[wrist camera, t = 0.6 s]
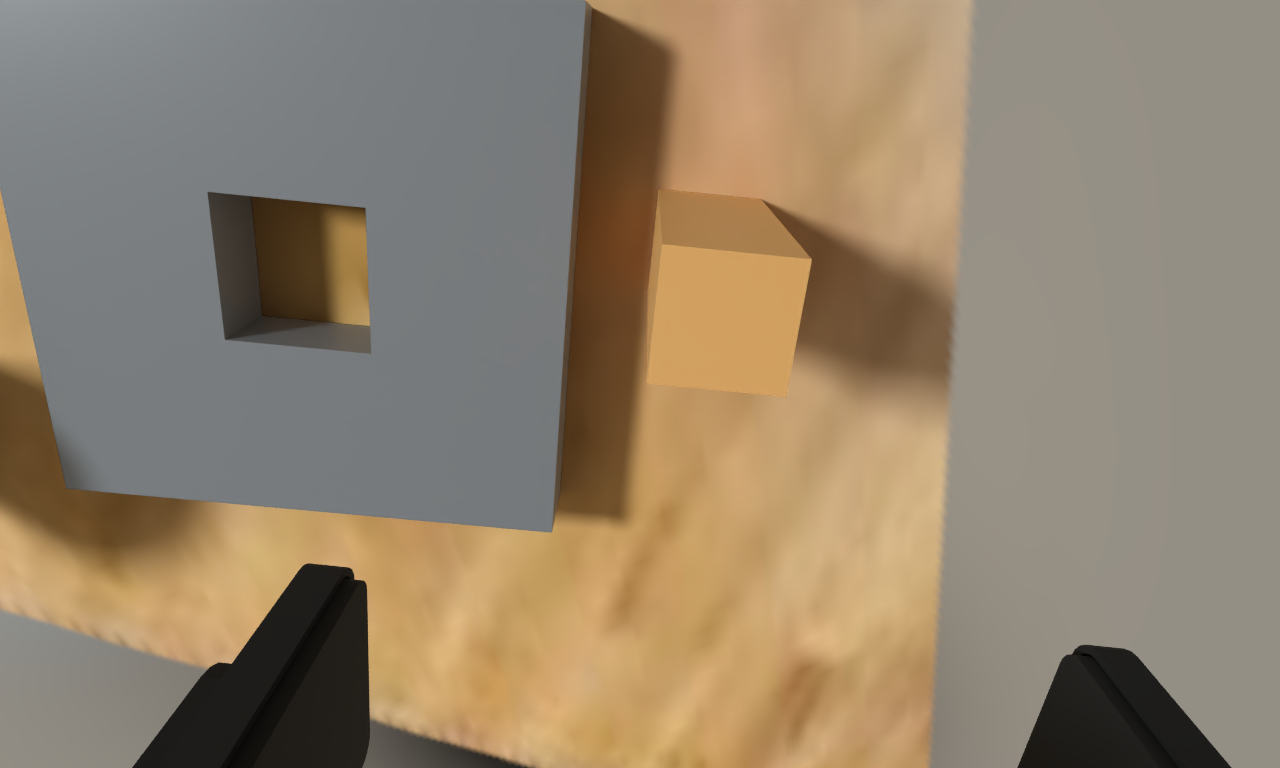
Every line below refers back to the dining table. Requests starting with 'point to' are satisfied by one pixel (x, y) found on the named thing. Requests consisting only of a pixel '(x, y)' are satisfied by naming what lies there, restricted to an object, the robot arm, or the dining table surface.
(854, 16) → the dining table surface
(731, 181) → the dining table surface
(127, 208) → the socket plate
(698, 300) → the plug
